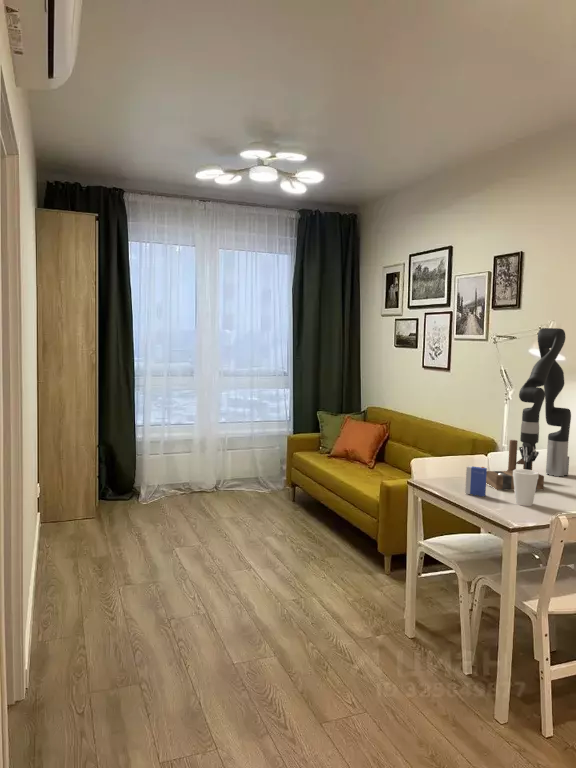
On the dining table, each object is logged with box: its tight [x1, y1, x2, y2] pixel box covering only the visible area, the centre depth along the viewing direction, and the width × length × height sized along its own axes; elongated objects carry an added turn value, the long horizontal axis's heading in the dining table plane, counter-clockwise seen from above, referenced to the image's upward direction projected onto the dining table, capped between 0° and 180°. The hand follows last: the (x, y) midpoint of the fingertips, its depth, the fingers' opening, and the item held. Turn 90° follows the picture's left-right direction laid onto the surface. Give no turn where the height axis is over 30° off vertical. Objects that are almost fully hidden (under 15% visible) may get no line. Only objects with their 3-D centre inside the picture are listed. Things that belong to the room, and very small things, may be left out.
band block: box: [486, 470, 545, 490], centre depth 263 cm, size 22×10×6 cm, turn 97°
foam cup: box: [513, 468, 540, 507], centre depth 235 cm, size 10×9×13 cm
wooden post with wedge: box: [506, 439, 534, 471], centre depth 280 cm, size 4×11×18 cm, turn 60°
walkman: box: [464, 465, 488, 497], centre depth 247 cm, size 8×3×12 cm, turn 62°
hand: (527, 469), depth 263 cm, fingers closed
